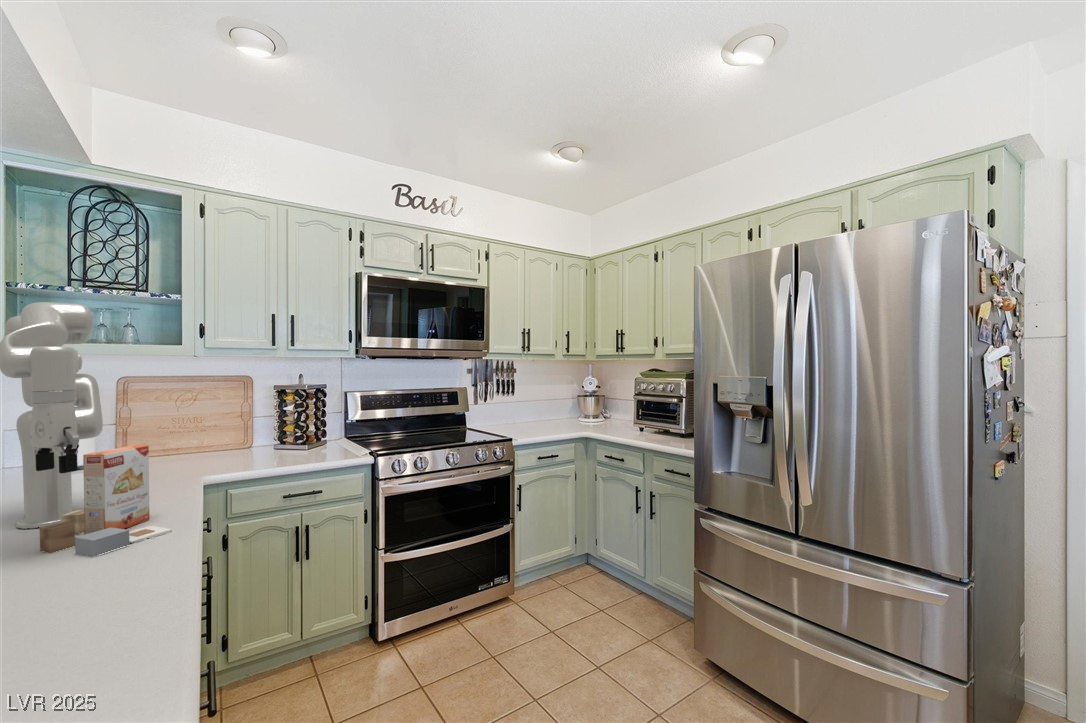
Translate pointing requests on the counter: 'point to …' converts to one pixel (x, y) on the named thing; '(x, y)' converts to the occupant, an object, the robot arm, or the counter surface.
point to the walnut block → (57, 537)
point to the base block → (101, 541)
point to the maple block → (75, 520)
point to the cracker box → (116, 488)
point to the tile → (147, 533)
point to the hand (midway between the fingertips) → (56, 470)
